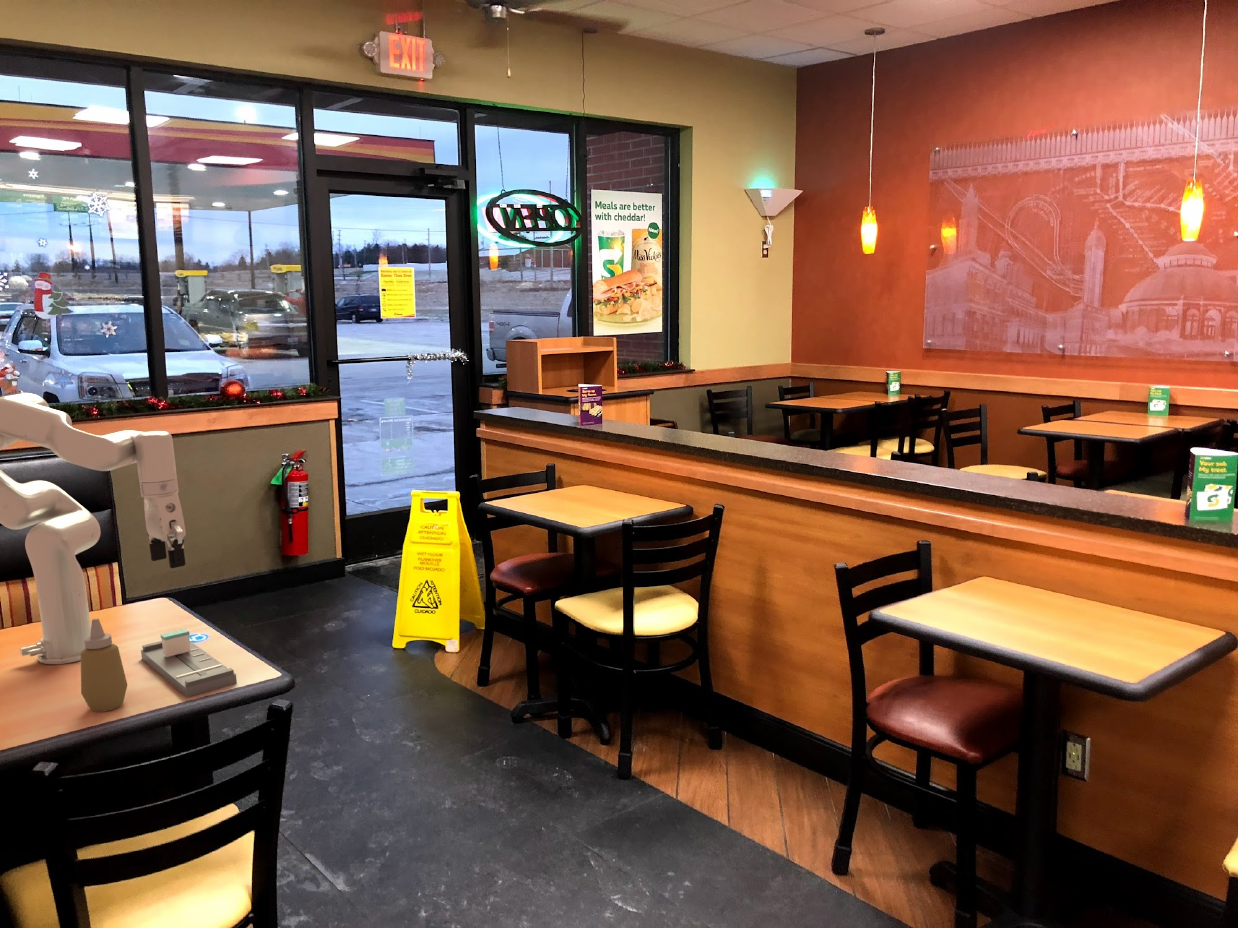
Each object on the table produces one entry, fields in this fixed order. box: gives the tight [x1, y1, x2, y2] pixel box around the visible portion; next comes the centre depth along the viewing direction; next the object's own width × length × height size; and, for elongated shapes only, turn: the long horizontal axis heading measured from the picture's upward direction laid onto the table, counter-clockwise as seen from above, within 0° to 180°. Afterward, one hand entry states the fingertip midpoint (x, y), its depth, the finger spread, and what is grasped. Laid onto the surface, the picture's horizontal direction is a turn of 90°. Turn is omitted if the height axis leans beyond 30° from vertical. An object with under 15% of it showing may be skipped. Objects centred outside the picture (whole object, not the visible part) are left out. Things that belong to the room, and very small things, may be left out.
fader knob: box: [160, 628, 191, 657], centre depth 214 cm, size 5×3×4 cm, turn 132°
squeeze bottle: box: [80, 618, 128, 713], centre depth 191 cm, size 8×8×18 cm
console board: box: [140, 640, 238, 698], centre depth 210 cm, size 10×30×3 cm, turn 42°
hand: (168, 563), depth 217 cm, fingers open, 9 cm apart
